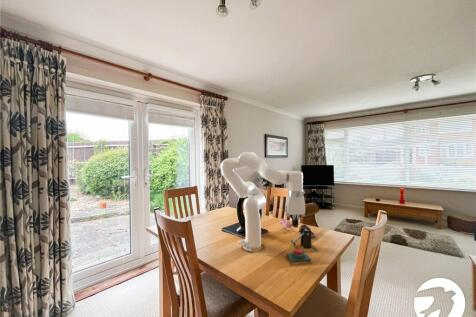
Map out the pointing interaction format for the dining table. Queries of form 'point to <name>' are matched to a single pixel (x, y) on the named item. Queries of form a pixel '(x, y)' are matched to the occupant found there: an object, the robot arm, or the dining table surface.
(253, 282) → the dining table surface
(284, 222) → the lily
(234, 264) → the dining table surface
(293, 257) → the button box
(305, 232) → the bracket
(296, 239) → the lever
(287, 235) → the dining table surface
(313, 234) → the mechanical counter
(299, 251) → the button
